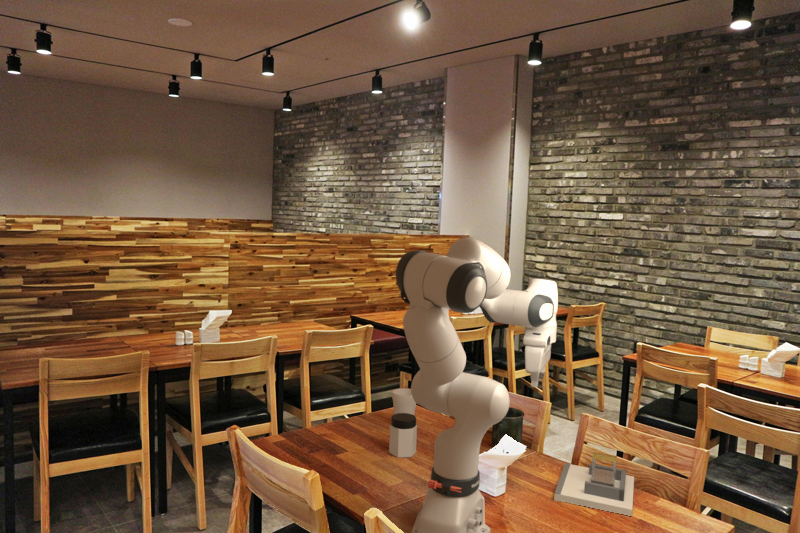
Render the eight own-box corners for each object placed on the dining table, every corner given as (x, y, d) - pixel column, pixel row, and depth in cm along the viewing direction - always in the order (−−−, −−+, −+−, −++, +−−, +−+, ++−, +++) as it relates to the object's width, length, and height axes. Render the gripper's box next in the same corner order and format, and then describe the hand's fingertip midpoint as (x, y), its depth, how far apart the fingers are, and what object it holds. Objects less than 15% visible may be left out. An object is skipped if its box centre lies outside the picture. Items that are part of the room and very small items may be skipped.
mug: (528, 445, 196) (529, 411, 196) (509, 459, 185) (511, 423, 184) (499, 437, 203) (501, 404, 202) (479, 450, 191) (481, 415, 190)
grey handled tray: (613, 495, 158) (615, 463, 157) (589, 490, 160) (591, 458, 160) (615, 482, 166) (617, 451, 165) (592, 477, 169) (594, 447, 168)
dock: (631, 517, 150) (633, 498, 150) (554, 500, 158) (555, 482, 158) (633, 483, 170) (634, 466, 170) (564, 469, 178) (565, 453, 178)
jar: (421, 454, 186) (422, 418, 185) (401, 460, 181) (403, 423, 180) (403, 445, 193) (404, 410, 192) (384, 451, 188) (385, 415, 187)
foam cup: (416, 431, 206) (418, 396, 205) (391, 431, 206) (392, 395, 205) (415, 422, 216) (417, 388, 215) (391, 421, 215) (392, 388, 214)
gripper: (535, 327, 173) (533, 372, 174) (521, 339, 154) (519, 389, 155) (557, 329, 170) (554, 375, 171) (545, 342, 151) (542, 393, 152)
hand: (537, 382), depth 163 cm, fingers open, 8 cm apart
